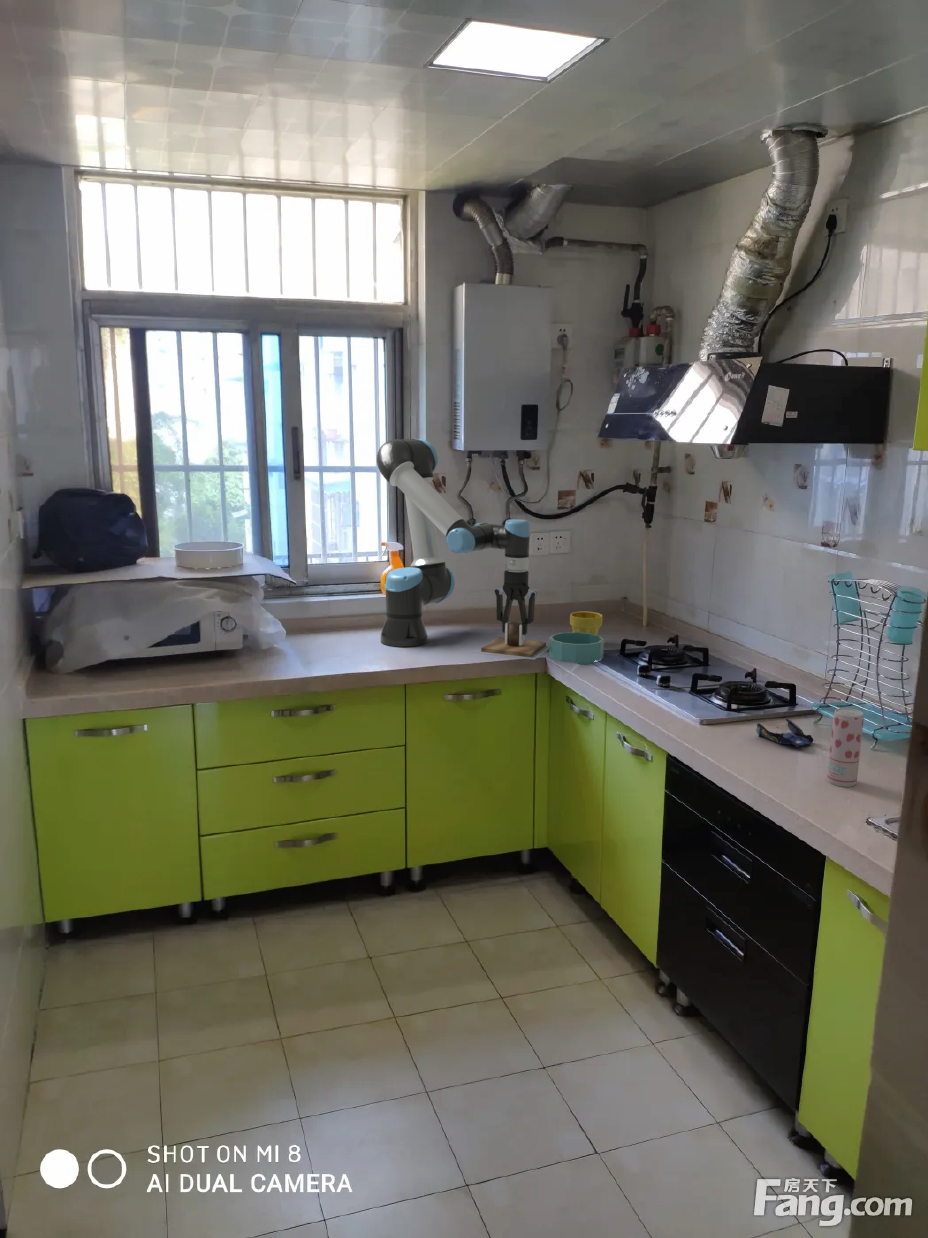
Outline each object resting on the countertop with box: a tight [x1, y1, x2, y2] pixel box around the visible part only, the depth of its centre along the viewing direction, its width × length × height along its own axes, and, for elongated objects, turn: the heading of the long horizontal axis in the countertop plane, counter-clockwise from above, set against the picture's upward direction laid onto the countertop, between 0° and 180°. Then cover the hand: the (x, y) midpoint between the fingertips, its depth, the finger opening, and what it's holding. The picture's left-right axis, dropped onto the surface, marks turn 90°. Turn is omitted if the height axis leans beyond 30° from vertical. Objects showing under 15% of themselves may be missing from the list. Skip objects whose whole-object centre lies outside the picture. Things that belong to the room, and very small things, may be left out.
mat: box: [472, 638, 549, 660], centre depth 293 cm, size 20×20×1 cm
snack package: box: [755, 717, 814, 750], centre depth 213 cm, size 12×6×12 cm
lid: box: [480, 621, 547, 657], centre depth 293 cm, size 16×16×8 cm
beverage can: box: [826, 707, 864, 788], centre depth 189 cm, size 6×6×15 cm
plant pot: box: [569, 610, 604, 636], centre depth 302 cm, size 10×10×10 cm
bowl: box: [548, 631, 605, 665], centre depth 285 cm, size 16×16×6 cm
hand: (514, 643), depth 293 cm, fingers closed on lid, 4 cm apart
